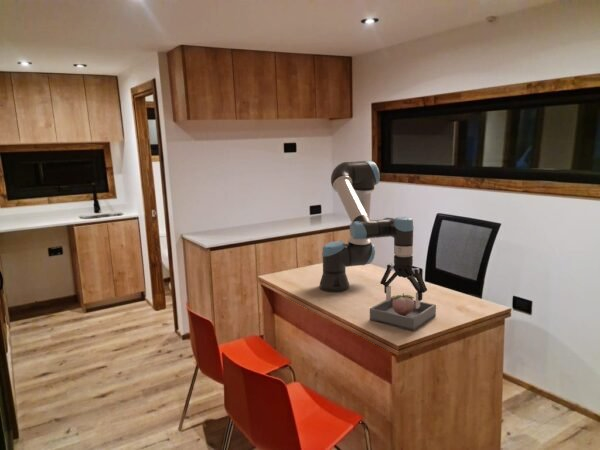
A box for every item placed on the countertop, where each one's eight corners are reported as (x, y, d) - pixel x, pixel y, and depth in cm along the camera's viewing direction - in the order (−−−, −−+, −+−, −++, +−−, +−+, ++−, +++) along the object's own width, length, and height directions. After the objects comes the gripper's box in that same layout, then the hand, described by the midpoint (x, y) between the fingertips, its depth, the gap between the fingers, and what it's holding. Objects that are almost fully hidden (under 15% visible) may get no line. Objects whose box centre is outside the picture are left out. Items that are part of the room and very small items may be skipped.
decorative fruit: (409, 311, 195) (410, 289, 193) (416, 318, 187) (417, 295, 185) (388, 312, 194) (389, 290, 192) (394, 320, 186) (395, 296, 184)
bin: (369, 320, 190) (369, 308, 189) (393, 306, 205) (393, 295, 204) (413, 331, 177) (413, 319, 176) (435, 316, 192) (435, 304, 191)
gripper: (372, 252, 191) (372, 300, 195) (427, 261, 175) (426, 313, 179) (381, 249, 197) (381, 295, 201) (436, 257, 181) (435, 307, 185)
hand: (402, 304), depth 190 cm, fingers open, 13 cm apart
